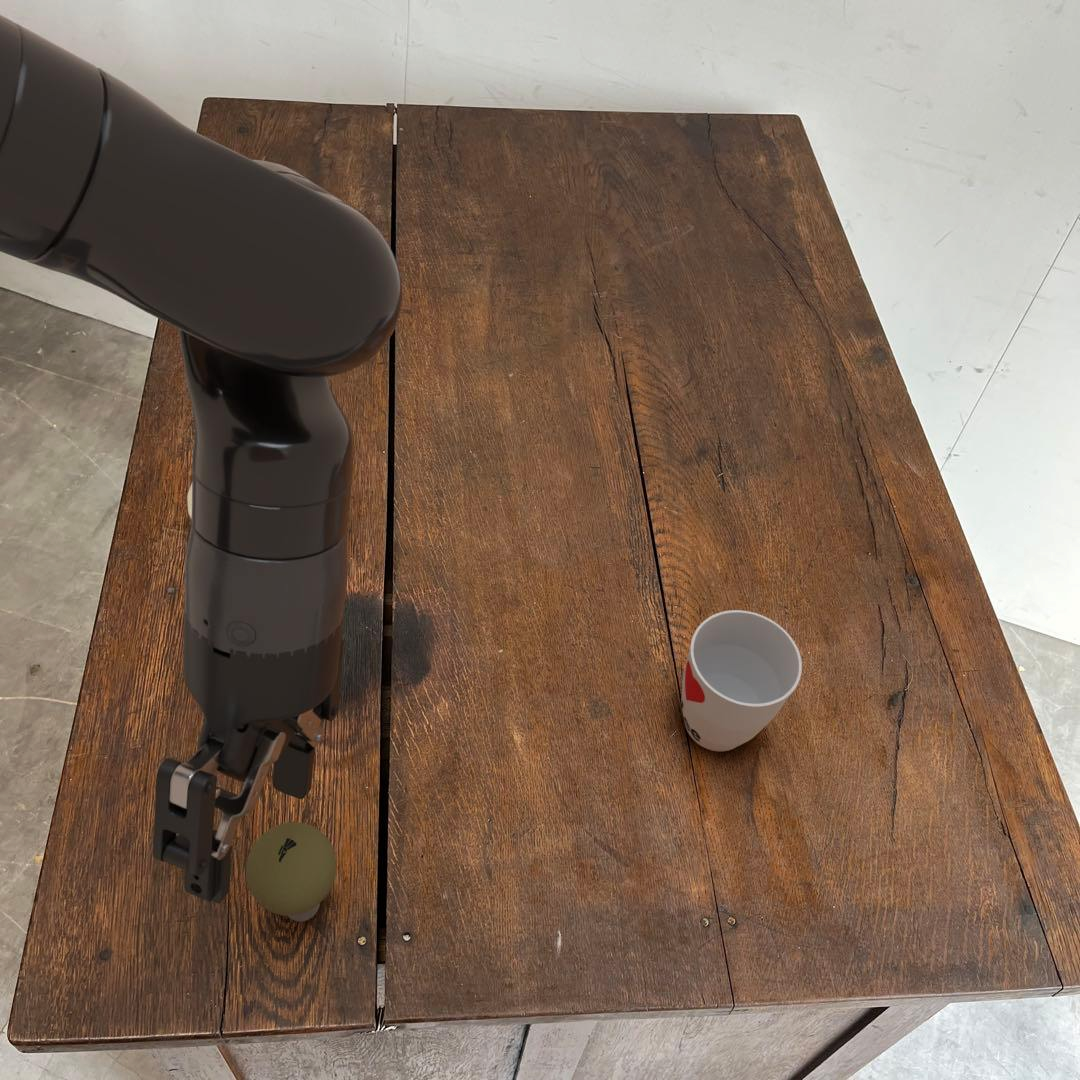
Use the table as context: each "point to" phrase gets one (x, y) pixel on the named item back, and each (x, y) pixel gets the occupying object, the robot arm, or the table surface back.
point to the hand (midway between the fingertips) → (251, 839)
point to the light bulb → (291, 870)
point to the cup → (736, 678)
